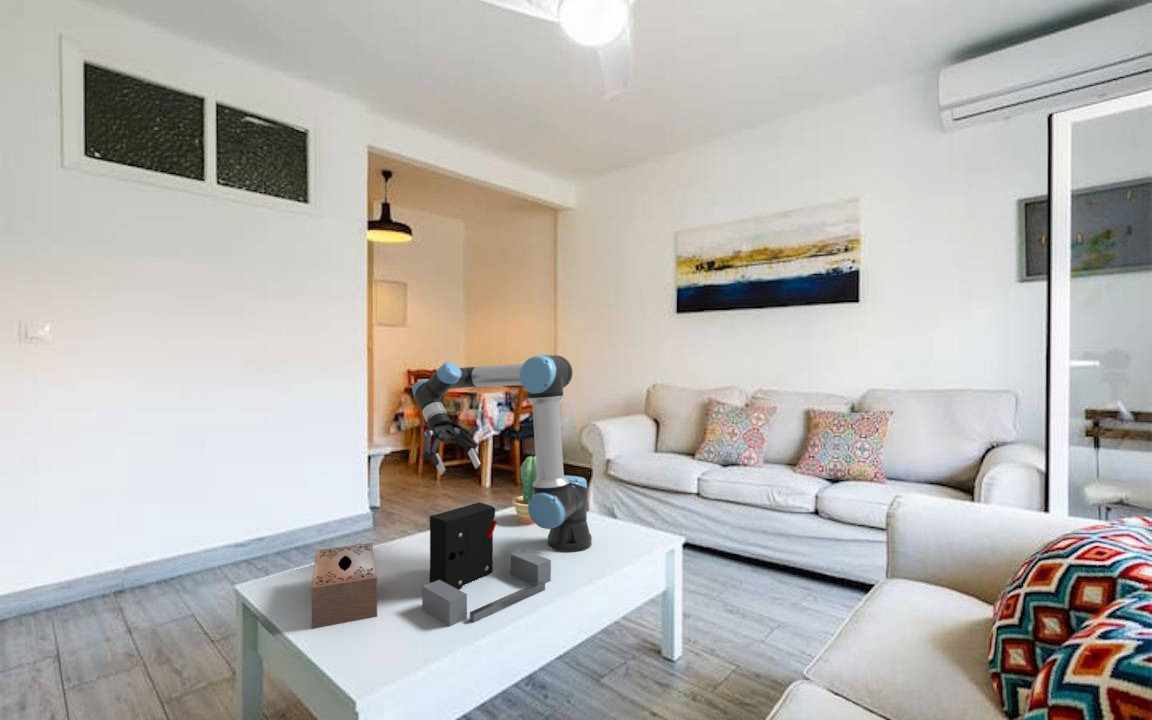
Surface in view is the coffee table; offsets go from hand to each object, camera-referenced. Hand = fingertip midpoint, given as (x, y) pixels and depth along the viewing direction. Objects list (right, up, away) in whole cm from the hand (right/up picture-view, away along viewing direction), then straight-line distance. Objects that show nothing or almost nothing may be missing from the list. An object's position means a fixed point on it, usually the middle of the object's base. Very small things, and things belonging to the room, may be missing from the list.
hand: (461, 469), depth 170 cm
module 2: (+24, -27, -19) cm, 41 cm away
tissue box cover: (-23, -28, -33) cm, 49 cm away
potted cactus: (+20, -27, +33) cm, 47 cm away
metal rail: (+20, -28, -35) cm, 49 cm away
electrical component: (+5, -28, -21) cm, 35 cm away
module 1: (+5, -28, -41) cm, 49 cm away
